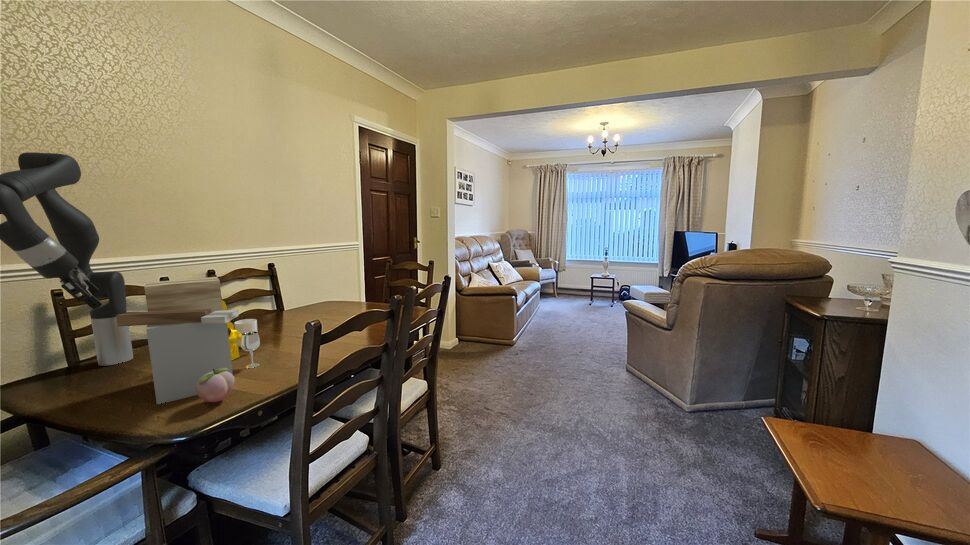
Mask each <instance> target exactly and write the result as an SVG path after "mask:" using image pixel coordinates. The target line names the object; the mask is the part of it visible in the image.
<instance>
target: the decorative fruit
mask: <svg viewBox="0 0 970 545" xmlns="http://www.w3.org/2000/svg"><path fill="white" fill-rule="evenodd" d="M226 370H230V369H228V368H220V369H217V370H215V369H213V372H209V373H207V374H205V375H203V376H202V377H201V378H200V379H199V380H198V381H197V383H196V387H195V389H196V392H197V394H198V395H197V396H198V397H199V398H200V399H201V400H203V401H205V402H206V403H207V402H208V403H219V402H220V401H221V402H222V400H224V399H225V398H226V397H228V395H229V394H230V393H231V392H232V390H233V387H235V383H236V378H235V376H234V374H233V375H232V374H231V373H230V372H227V371H226Z"/></svg>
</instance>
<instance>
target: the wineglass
mask: <svg viewBox="0 0 970 545" xmlns="http://www.w3.org/2000/svg"><path fill="white" fill-rule="evenodd" d="M260 345H261V339H260V335H259V333H258V331H257V332H255V331H252V332H246V333H243V334H242V335H241V347H240V348H241V349H242V350H243V351H245V352H249V356H250V361H251V363H250V364H247V365H245V366H244V367H245V369H248V368H250V369H255V368H258V367H259V365H261V364H260V363H258V362H257V363H255V362H254V359H253V357H254V352H253V351H256V350H257V349H258V348H259V347H260ZM257 366H258V367H257ZM254 367H255V368H254Z"/></svg>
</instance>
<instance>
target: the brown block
mask: <svg viewBox="0 0 970 545" xmlns="http://www.w3.org/2000/svg"><path fill="white" fill-rule="evenodd" d="M116 317H117V324H118V327H120V326H129V327H135V326H137V327H138V326H147V325H160V324H180V323H201V322H202V324H222V323H227V322H229V321H230V322H231V321H232V320H234V319H236V318H237V317H239V310H238V309H230V310H229V309H227V310H224V311H214V312H211V309H196V310H173V311H150V312H148V311H132V312H131V311H130V312H128V311H127V313H122V314H119V315H116Z"/></svg>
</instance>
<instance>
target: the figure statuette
mask: <svg viewBox="0 0 970 545" xmlns="http://www.w3.org/2000/svg"><path fill="white" fill-rule="evenodd" d="M227 306H228V305H227V304H226V302H225V301H224V300H222V307H223V311H224V310H228V307H227ZM227 326H228V336H229V345H230V354H231V362H232V361H233V360H234V361H235V359H238V358H240V353H239V348H240V347H239V346H238V340H237V339H239V340H241V335H242V334H241V333H239V332H238V331H237V330H235V325H234V323H233V322H231V320H230V321H229V322H227Z"/></svg>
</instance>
